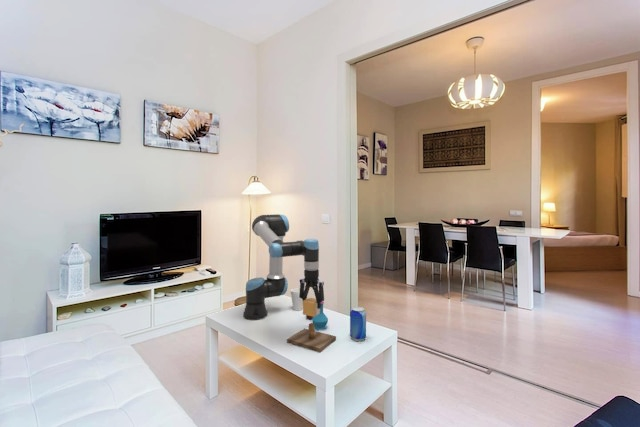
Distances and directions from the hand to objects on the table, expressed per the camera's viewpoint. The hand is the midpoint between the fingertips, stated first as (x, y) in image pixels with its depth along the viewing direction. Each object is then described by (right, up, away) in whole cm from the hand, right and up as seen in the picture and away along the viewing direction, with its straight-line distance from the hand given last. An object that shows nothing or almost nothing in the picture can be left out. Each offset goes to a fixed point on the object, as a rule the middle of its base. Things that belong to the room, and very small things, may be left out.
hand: (311, 313), depth 161 cm
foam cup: (-11, -13, +50) cm, 53 cm away
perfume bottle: (+4, -14, +19) cm, 24 cm away
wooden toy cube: (0, 0, 0) cm, 0 cm away
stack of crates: (0, -15, +33) cm, 36 cm away
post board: (0, -15, +1) cm, 15 cm away
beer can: (+25, -15, +4) cm, 29 cm away
